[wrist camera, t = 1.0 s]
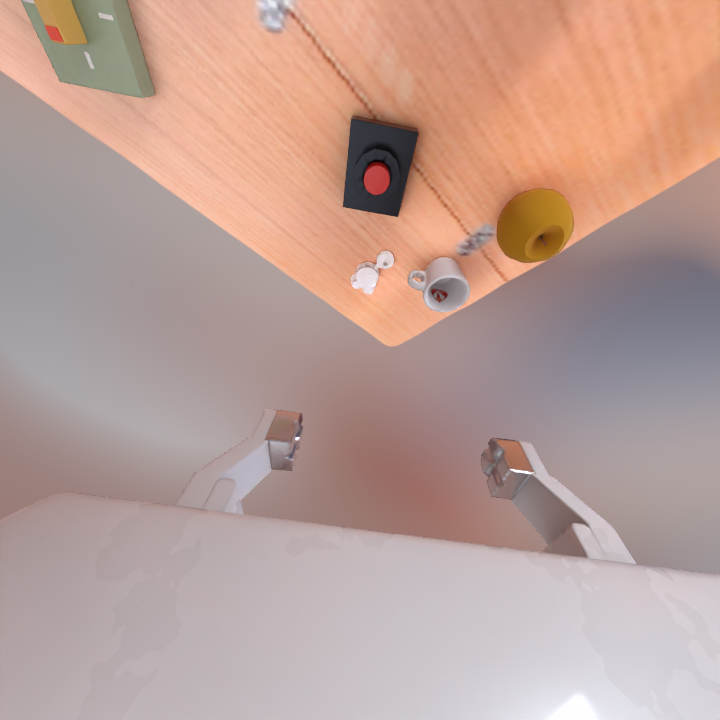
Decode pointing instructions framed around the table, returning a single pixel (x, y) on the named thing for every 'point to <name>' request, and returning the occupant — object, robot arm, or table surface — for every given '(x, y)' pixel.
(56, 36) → the handle
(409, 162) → the button block
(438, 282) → the cup
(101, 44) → the panel
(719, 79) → the table surface
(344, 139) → the table surface
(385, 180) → the release button
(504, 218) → the apple
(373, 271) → the white lobed flat piece
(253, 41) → the table surface
